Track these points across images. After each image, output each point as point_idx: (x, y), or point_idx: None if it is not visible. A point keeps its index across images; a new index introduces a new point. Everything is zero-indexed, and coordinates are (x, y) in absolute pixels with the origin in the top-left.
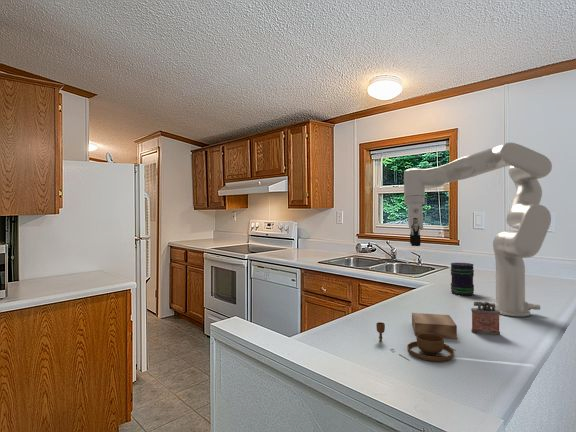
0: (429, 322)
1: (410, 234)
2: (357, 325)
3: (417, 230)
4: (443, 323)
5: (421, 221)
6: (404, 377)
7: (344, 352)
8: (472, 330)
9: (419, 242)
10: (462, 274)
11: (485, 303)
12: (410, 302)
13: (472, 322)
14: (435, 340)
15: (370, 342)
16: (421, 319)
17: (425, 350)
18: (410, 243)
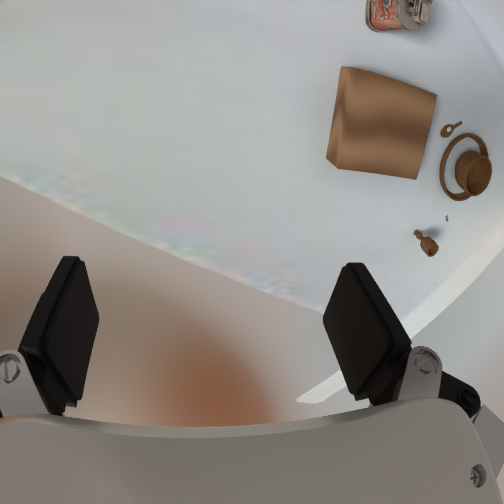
0: (416, 147)
1: (74, 401)
2: (335, 271)
3: (469, 395)
4: (423, 117)
5: (492, 495)
6: (497, 214)
7: (438, 274)
8: (380, 31)
9: (371, 289)
10: None
11: (432, 1)
12: (64, 141)
13: (390, 29)
14: (466, 159)
15: (418, 247)
16: (395, 158)
17: (475, 180)
18: (96, 320)
